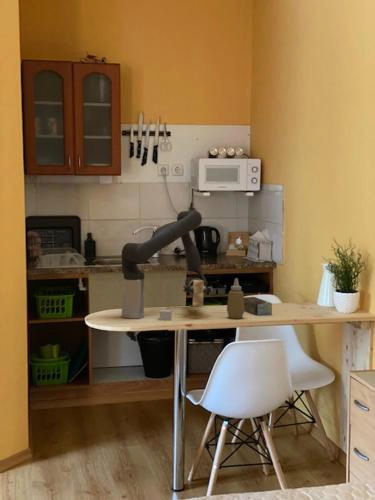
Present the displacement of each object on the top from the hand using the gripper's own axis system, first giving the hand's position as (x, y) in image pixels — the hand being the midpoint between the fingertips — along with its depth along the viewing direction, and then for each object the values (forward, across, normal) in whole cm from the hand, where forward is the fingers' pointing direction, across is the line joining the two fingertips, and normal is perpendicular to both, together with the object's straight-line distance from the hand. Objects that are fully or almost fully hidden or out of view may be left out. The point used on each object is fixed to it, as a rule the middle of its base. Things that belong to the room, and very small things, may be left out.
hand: (198, 291), depth 286 cm
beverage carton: (-21, +29, +12) cm, 37 cm away
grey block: (+1, -14, +13) cm, 19 cm away
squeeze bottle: (-5, +17, +12) cm, 22 cm away
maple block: (-3, 0, +7) cm, 7 cm away
